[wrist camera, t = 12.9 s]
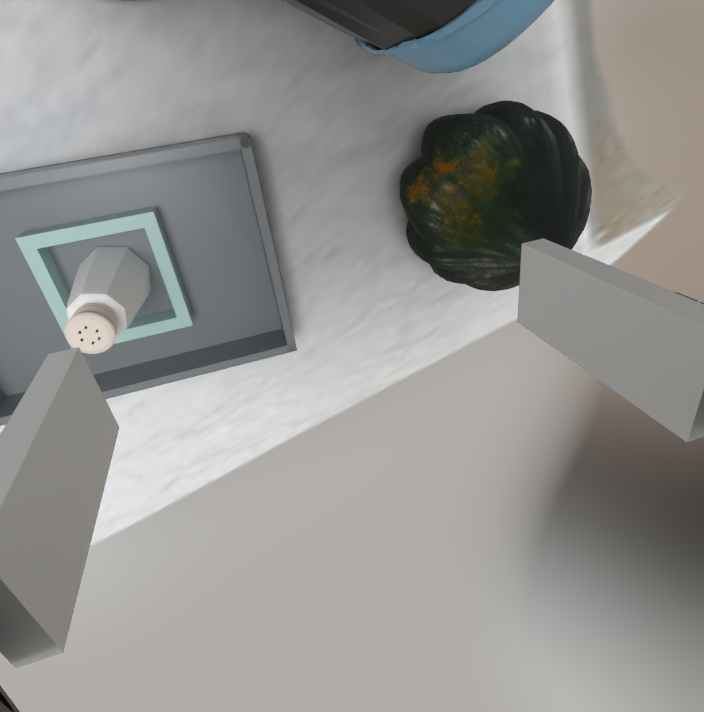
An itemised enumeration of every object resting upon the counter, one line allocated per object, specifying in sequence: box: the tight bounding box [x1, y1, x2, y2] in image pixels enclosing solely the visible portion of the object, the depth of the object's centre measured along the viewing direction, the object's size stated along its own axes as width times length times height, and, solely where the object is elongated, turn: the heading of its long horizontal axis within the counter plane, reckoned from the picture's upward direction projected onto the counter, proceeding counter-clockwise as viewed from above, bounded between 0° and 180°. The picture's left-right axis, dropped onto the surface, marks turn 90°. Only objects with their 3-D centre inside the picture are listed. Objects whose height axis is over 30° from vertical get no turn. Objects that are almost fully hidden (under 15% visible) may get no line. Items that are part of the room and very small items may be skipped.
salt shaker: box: [64, 247, 151, 354], centre depth 33 cm, size 5×5×11 cm
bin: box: [0, 132, 297, 426], centre depth 37 cm, size 17×25×4 cm
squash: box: [400, 101, 592, 291], centre depth 38 cm, size 14×15×15 cm
